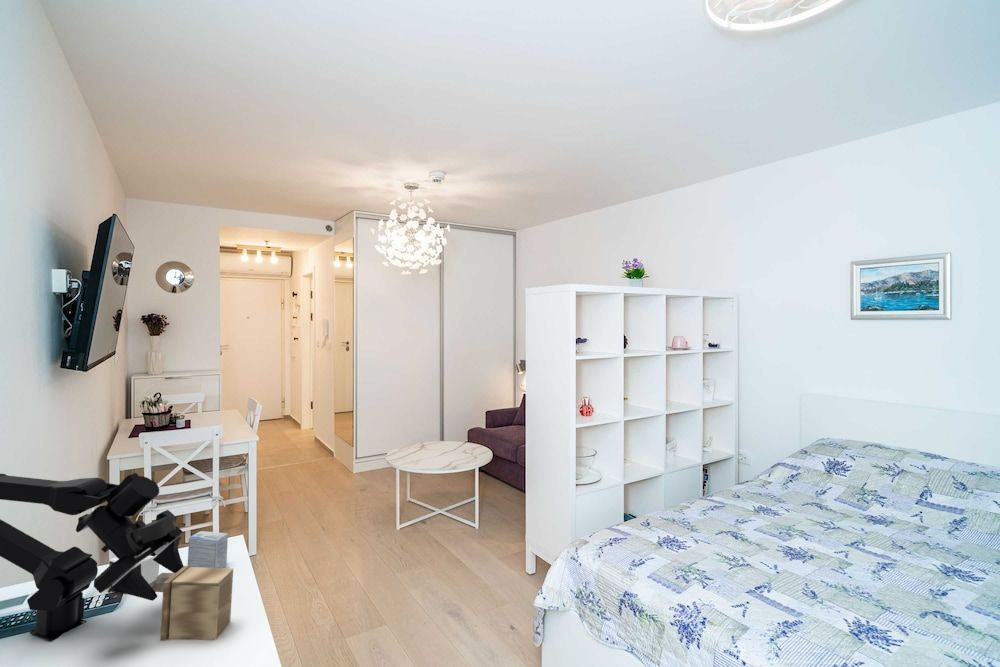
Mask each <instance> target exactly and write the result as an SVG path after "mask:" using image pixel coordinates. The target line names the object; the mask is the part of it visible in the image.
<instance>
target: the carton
mask: <svg viewBox="0 0 1000 667" xmlns="http://www.w3.org/2000/svg"><path fill="white" fill-rule="evenodd" d="M233 578H234V568H230V567H223V568H204V567H189V568H188V569H187V570H186V571H184V572H183V573H182V574H181V575H179V576H178V577H177V578H176V579H175V580H173V581H172V589H171V607H170V625H169V637H168V640H187V641H189V640H191V641H216V640H217V639H218V638H219V636H220V635H221V634H222V633H223V632H224V631H225V629H226V628H227V627H228V626H229V624H231V618H232V617H231V615H232V599H233V595H232V594H233V580H234V579H233Z"/></svg>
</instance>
